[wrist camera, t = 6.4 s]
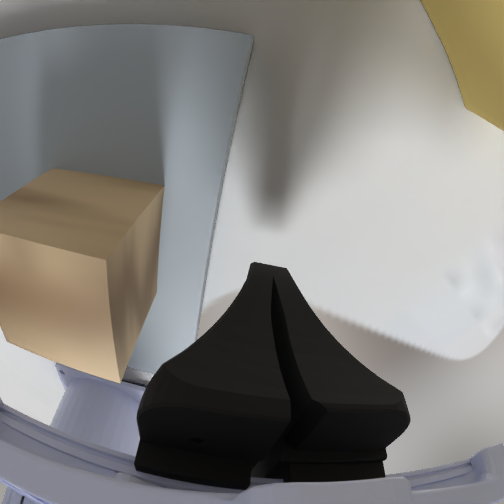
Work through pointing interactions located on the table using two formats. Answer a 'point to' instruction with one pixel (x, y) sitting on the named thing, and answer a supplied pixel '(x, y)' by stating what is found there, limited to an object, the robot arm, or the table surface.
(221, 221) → the table surface
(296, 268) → the table surface
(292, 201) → the table surface
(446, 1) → the cheese
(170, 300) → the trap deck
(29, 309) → the oak block
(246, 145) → the table surface
